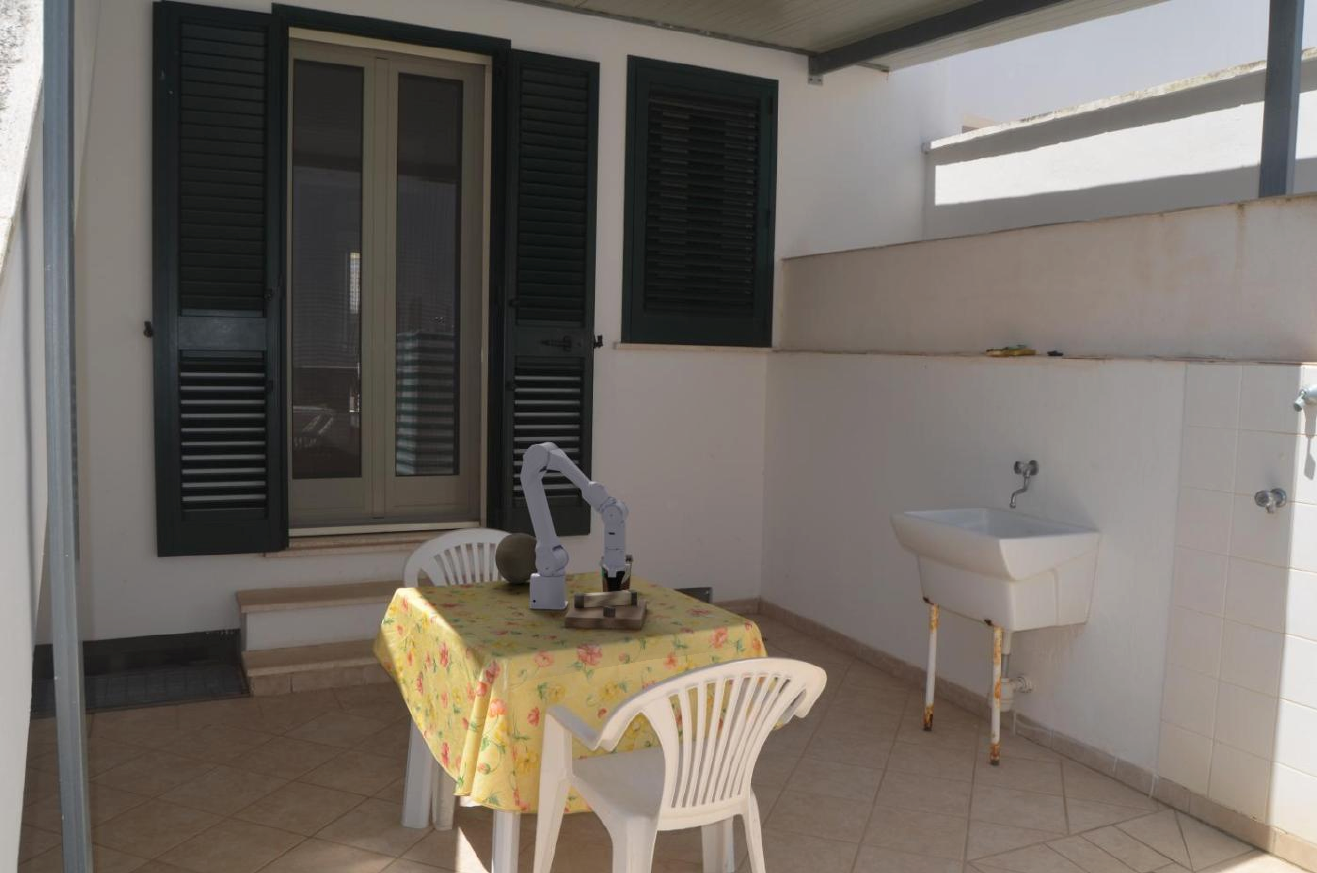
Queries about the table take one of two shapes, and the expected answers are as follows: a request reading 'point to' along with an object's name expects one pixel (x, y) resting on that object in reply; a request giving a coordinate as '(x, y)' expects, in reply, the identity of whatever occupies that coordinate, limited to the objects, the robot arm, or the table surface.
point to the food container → (627, 576)
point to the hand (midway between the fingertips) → (614, 598)
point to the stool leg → (605, 599)
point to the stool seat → (607, 616)
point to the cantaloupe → (516, 557)
